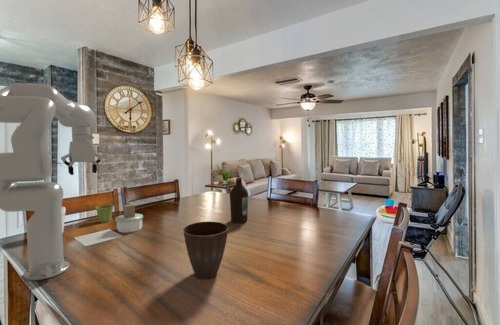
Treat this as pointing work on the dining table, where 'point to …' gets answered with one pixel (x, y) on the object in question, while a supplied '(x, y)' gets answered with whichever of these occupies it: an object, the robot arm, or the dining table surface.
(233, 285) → the dining table surface
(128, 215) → the lid
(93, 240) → the mat
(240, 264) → the dining table surface
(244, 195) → the olive oil
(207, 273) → the plant pot
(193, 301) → the dining table surface
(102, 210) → the plant pot
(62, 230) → the foam cup
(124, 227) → the bowl
